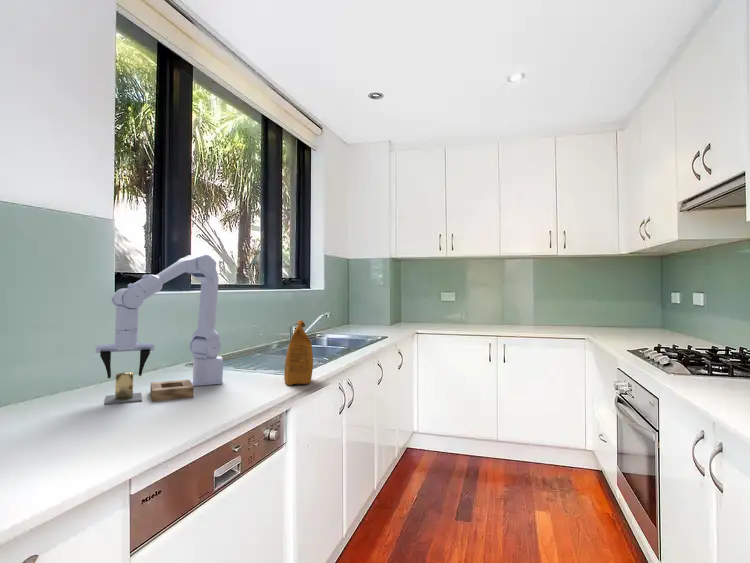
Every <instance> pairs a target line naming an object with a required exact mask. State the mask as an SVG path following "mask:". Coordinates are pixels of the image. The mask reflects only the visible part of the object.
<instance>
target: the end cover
mask: <svg viewBox="0 0 750 563" xmlns="http://www.w3.org/2000/svg"><path fill="white" fill-rule="evenodd" d="M134 375H135V374H134V372H132V371H124V372H117V373H115V386H114V388H115V391H114V392H115V394H114V395H115V399H116V400H125V399H130V398H132V397H133V393H134Z"/></svg>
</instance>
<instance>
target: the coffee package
mask: <svg viewBox="0 0 750 563" xmlns="http://www.w3.org/2000/svg"><path fill="white" fill-rule="evenodd" d="M296 324H297V325H296V328H295V330H294V332H293V333H292V336H291V338H290V340H289V341H290V342H289V344H288V347H287V350H286V355H285V362H284V376H283V378H284V379H283V380H284V383H285V384H286V386H294V385H293V384H297V385H306V384H311V382H312V376H313V370H314V369H313V368H314V356H313V354H314V353H313V345H312V341H311V340H310V338H309V336H308V335H307V333H306V332H305V330H304V328H305V327H306V324H305V322H304V321H303V319H300V320H298V321H296Z"/></svg>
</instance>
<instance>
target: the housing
mask: <svg viewBox="0 0 750 563" xmlns="http://www.w3.org/2000/svg"><path fill="white" fill-rule="evenodd" d="M190 380H191V379H182V380H181V379H179V380H169V381H168V380H167V381H166V380H165V381H154V382H150V392H149V393H150V399H151V402H158V401H168V400H178V399H188V398H194V392H195V391H194V390H195V389H194V388H195V386H193V385H192V383H191V382H190Z"/></svg>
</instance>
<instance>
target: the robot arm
mask: <svg viewBox="0 0 750 563" xmlns="http://www.w3.org/2000/svg"><path fill="white" fill-rule="evenodd" d="M184 273H187V274H189V275H191V276H193V277H195V279H196V280H198V282H199V283H200V294H199V295H200V297H199V308H198V323H197V329H195V331H194V332H192V338H191V340H190V342H189V347H188V348H189V351H190V353H191V354H192V357H193V362H192V363H193V364H192V365H193V367H192V379H189V380H190V382H191V383H192V385H193V387H195V386H196V387H198V386H210V385H221V384H223V375H224V374H223V373H224V372H223V371H224V361H223V360H224V359H223V357H222V356H219V354H220V353H221V351H222V343H221V340H220V337H221V336H220V334H219V332H218V331H217V330H216V317H217V308H218V307H217V305H218V291H219V290H218V289H219V279H220V278H219V275H218V272H217V262H216V260H215V259H214V258H212V256H211V255H209V254H198V255H197V254H195V255H194V254H188V255H186V256H184V257H182V258H181V257H180V258H179V259H178V260H177V261H176V262H174V263H173V264H171V265H169V266H168V267H166V268H165V269H163V270H161V271H160V272H159V273H157V274H151V273H150V274H143V275H141V277H142V278H141V279H139V280H137V281H136V282H133V283H132V282H130V283H128V284H127V287H126V288H125V287H123V288H119V289H117V290H116V291H115V292H114V294H113V297H111V302H112V304H113V305H114V306H115V322H114V323H115V324H114V343H113V344H101V345H100V344H99V345H96V346H95V354H100V359H101V360H102V362H103V364H104V367H105V370H106V373H107V374H106V375H107V379H111V377H112V368H111V366H112V364H111V362H112V361H111V360H112V353H115V352H116V353H117V352H118V353H119V352H120V353H121V352H139V367H138V376H139V377H142V376H143V375H142V374H143V370H144V367H145V364H146V362H147V360H148V358H149V356H150V354H151V351H155V343H154V342H152V343H151V342H149V343H146V342H145V343H144V342H141V343H139V342H138V341H139V339H138V338H139V336H138V335H139V312H140V310H139V309H140V307H141V306H142V305H143V303H144V301H145V300H147V299H148V298H150V297H152V296H153V295H155V294H156V293H158V292H160V291H162V289H163V285H164V284H166V283H168V282H169V281H171V280H173V279H175V278H177V277H178V276H180V275H182V274H184Z"/></svg>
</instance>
